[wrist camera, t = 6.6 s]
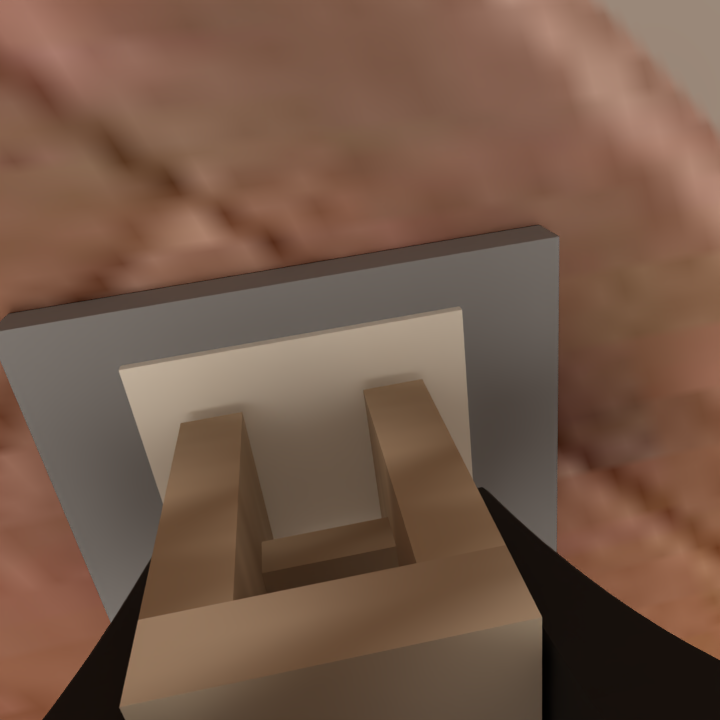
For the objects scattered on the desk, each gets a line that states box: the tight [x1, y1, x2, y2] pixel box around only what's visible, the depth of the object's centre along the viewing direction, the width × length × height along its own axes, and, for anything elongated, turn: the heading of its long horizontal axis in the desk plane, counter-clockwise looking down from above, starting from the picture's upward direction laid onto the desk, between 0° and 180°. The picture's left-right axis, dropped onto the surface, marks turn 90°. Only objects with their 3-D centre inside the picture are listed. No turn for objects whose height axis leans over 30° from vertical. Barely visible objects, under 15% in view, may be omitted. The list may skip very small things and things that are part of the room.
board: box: [0, 225, 559, 622], centre depth 17 cm, size 20×11×1 cm, turn 7°
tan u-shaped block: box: [119, 379, 542, 720], centre depth 11 cm, size 5×5×6 cm
